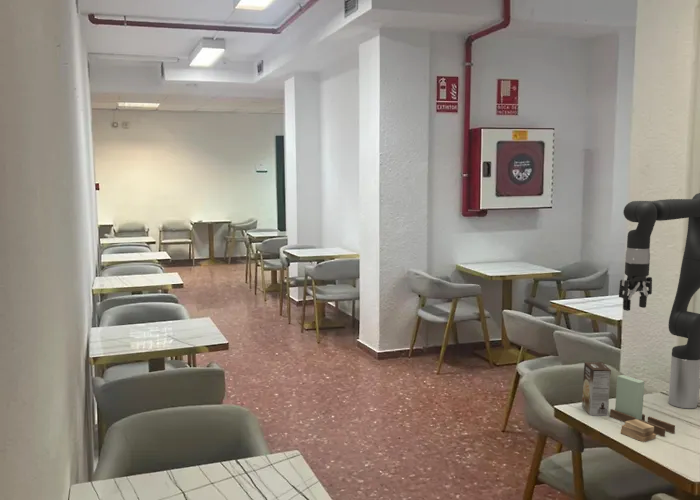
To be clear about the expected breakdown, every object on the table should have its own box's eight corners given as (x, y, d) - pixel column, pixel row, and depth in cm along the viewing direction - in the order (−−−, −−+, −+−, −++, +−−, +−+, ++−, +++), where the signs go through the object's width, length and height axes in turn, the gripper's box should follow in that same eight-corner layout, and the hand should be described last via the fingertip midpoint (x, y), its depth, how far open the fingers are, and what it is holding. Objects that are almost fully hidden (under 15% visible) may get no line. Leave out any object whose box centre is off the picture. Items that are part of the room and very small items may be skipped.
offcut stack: (632, 429, 212) (633, 417, 211) (655, 438, 205) (656, 426, 204) (619, 433, 209) (620, 421, 208) (643, 442, 202) (643, 430, 201)
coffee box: (580, 406, 232) (583, 361, 230) (599, 406, 232) (602, 361, 230) (589, 415, 223) (592, 369, 221) (609, 416, 223) (612, 369, 221)
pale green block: (620, 415, 224) (623, 374, 222) (641, 422, 217) (644, 381, 216) (614, 416, 223) (617, 376, 221) (635, 424, 216) (638, 382, 214)
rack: (620, 413, 226) (621, 406, 225) (674, 433, 209) (675, 425, 209) (609, 416, 223) (610, 409, 222) (663, 436, 206) (663, 429, 206)
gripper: (640, 258, 229) (637, 304, 231) (613, 261, 222) (611, 309, 224) (660, 261, 223) (657, 308, 225) (633, 264, 215) (631, 313, 217)
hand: (634, 308), depth 224 cm, fingers open, 8 cm apart
